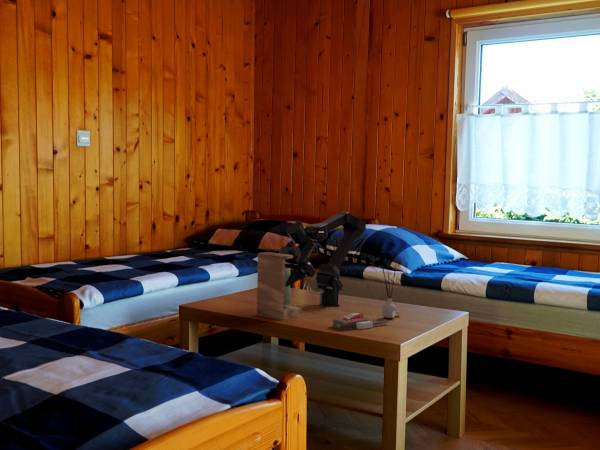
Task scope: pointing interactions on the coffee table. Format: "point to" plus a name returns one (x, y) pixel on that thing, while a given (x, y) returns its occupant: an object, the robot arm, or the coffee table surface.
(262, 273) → the nook
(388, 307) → the reed diffuser
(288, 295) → the tea tin
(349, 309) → the coffee table surface
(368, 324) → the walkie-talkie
